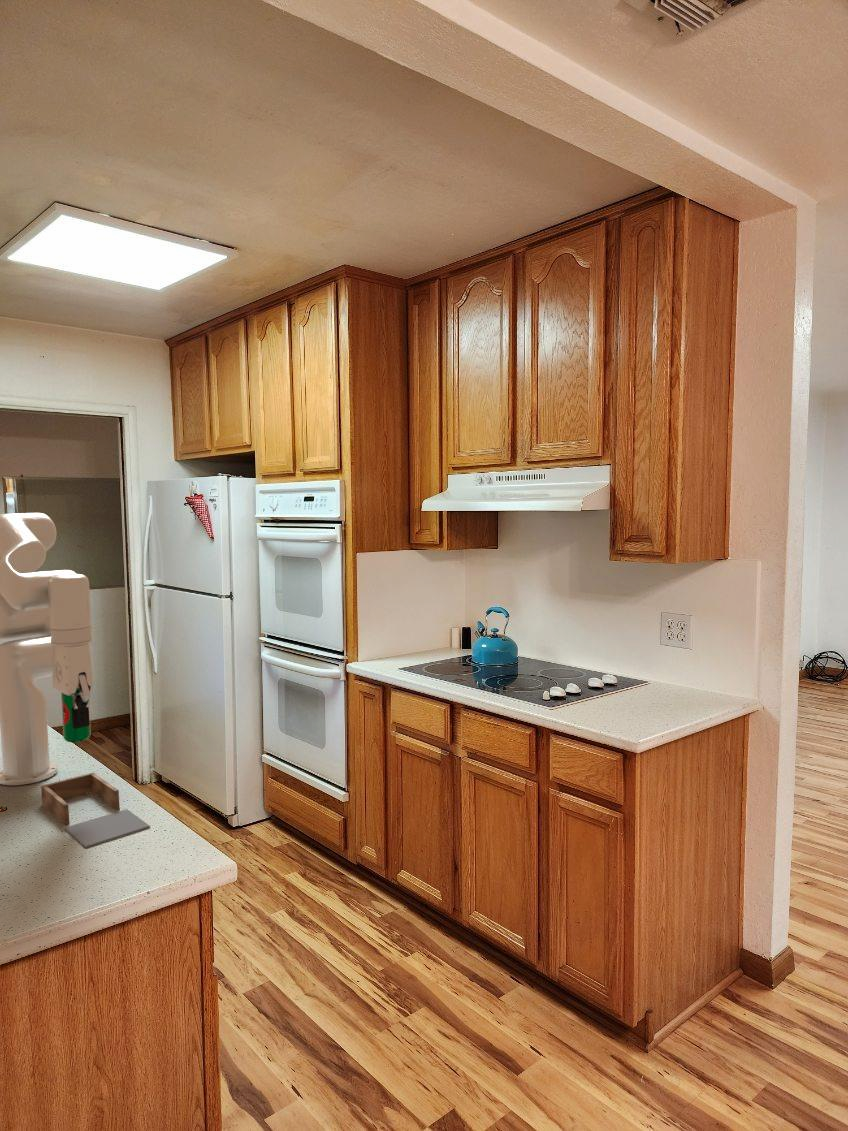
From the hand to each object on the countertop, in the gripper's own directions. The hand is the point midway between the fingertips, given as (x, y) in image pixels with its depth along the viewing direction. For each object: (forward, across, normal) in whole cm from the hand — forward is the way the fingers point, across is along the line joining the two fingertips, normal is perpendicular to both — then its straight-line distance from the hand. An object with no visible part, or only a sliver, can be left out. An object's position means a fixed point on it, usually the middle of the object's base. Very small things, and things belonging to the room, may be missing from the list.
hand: (76, 723), depth 155 cm
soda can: (+4, 0, 0) cm, 4 cm away
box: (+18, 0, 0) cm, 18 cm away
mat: (+18, +14, 0) cm, 23 cm away
